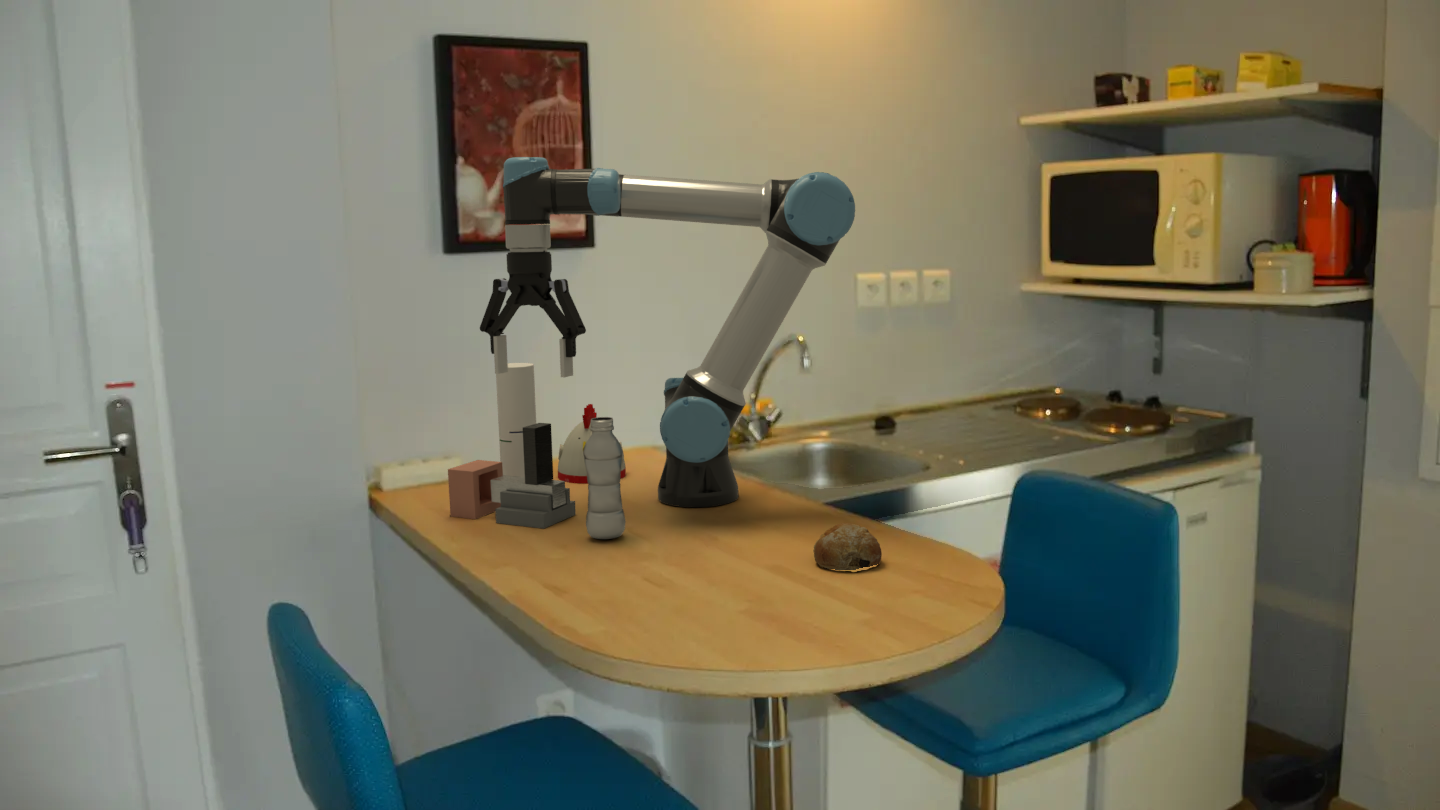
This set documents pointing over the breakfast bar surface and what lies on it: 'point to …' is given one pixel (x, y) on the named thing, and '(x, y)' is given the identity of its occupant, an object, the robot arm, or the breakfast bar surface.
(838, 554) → the bread roll
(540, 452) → the black and grey block
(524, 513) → the grey stepped base
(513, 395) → the cylindrical container
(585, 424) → the kitchen timer
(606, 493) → the plastic bottle
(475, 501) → the socket block
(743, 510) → the breakfast bar surface
